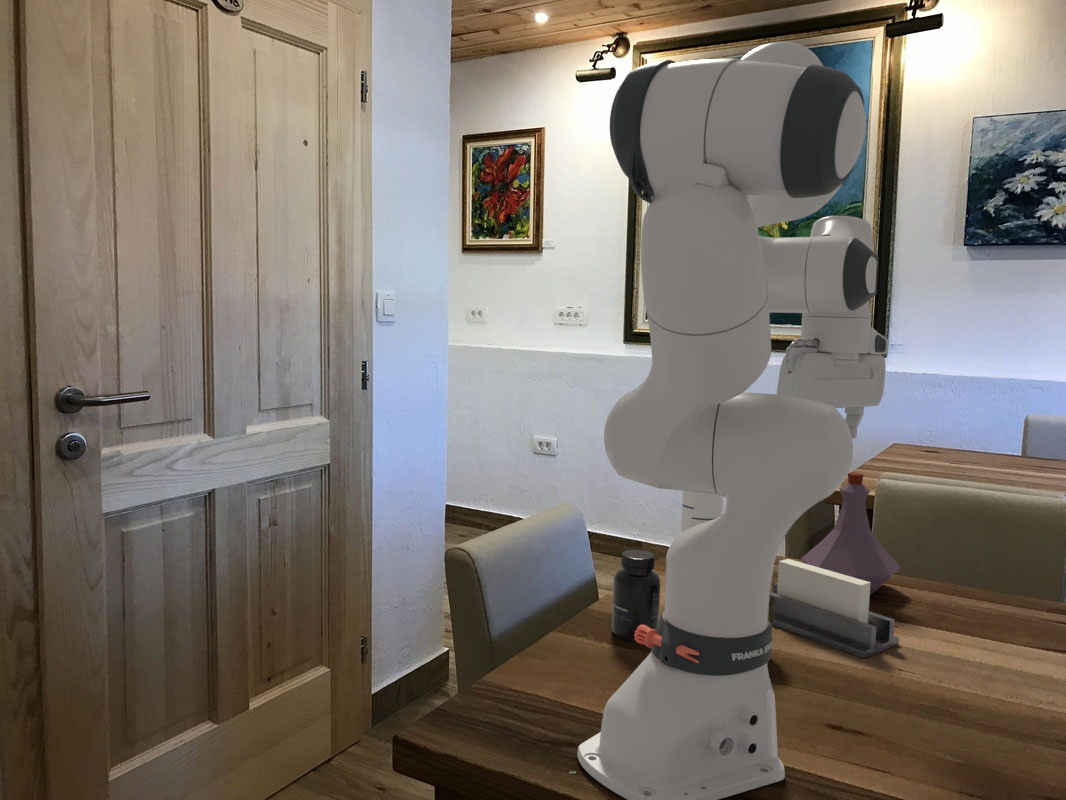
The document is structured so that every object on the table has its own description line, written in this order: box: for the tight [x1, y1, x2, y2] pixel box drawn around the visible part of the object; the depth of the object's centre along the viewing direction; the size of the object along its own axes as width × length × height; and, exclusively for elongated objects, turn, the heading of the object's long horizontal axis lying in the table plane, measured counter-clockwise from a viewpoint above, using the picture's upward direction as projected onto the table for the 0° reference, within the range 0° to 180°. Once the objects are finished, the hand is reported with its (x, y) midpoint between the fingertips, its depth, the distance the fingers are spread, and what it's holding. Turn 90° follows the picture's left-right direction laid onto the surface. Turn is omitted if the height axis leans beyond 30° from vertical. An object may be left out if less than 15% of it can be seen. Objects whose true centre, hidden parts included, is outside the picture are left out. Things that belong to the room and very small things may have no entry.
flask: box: [800, 472, 902, 596], centre depth 149 cm, size 16×16×20 cm
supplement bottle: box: [611, 549, 661, 642], centre depth 126 cm, size 7×7×12 cm
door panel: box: [777, 558, 871, 624], centre depth 129 cm, size 14×2×8 cm, turn 38°
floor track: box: [770, 582, 900, 660], centre depth 129 cm, size 20×9×4 cm, turn 38°
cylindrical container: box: [680, 491, 724, 534], centre depth 154 cm, size 7×7×25 cm
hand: (828, 440), depth 117 cm, fingers open, 8 cm apart
